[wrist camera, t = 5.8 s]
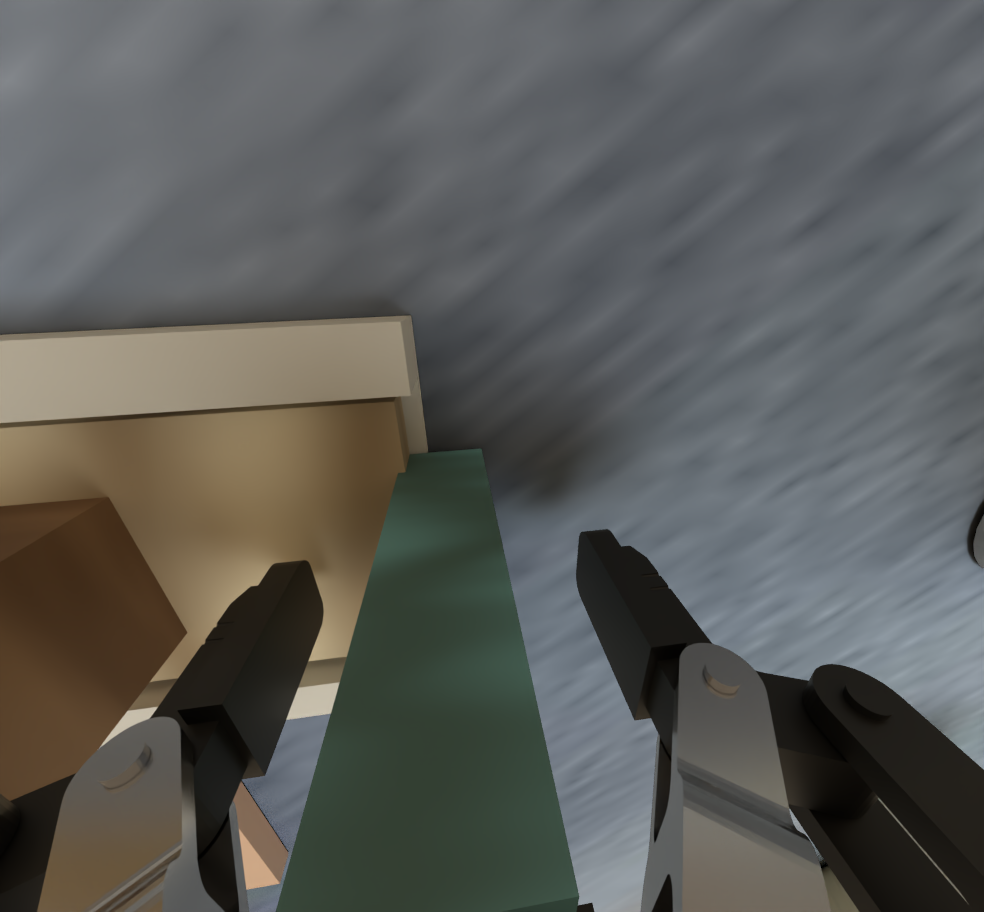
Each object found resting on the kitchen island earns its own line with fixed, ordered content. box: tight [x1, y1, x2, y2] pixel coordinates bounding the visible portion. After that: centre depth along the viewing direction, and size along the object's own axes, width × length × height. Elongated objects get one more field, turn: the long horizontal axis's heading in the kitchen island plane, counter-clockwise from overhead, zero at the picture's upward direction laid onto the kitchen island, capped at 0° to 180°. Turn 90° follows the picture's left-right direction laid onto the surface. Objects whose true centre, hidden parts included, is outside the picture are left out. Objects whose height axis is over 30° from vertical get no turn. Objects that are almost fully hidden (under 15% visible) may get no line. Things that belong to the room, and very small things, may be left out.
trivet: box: [233, 782, 288, 890], centre depth 18 cm, size 10×10×1 cm
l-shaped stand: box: [0, 396, 579, 912], centre depth 7 cm, size 16×9×9 cm, turn 92°
